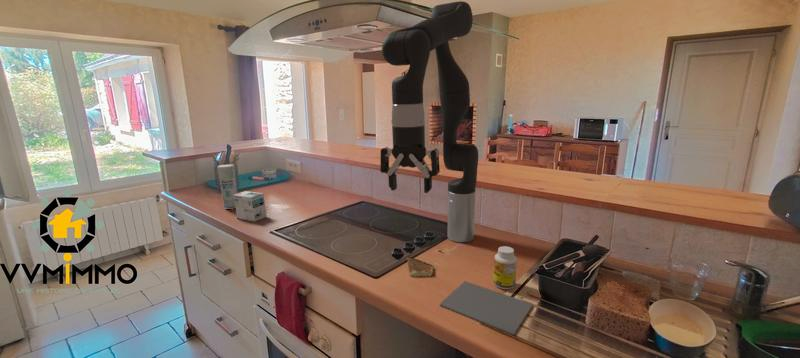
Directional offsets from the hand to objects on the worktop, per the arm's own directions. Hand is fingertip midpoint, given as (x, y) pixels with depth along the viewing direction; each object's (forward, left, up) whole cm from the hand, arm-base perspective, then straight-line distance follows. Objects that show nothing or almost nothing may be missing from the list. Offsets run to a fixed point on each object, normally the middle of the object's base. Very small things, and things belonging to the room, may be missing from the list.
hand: (410, 190), depth 84 cm
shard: (-9, -5, -28) cm, 30 cm away
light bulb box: (-5, -87, -27) cm, 92 cm away
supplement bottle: (-16, +19, -27) cm, 37 cm away
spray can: (-7, -108, -27) cm, 112 cm away
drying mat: (-5, +19, -27) cm, 33 cm away
